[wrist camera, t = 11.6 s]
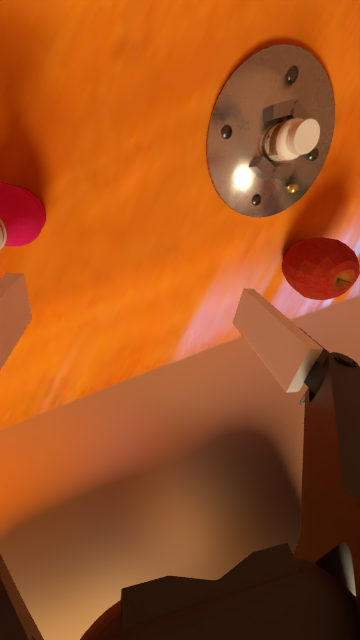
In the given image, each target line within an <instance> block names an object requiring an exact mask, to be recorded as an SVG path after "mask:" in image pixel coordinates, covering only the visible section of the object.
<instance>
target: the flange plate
mask: <svg viewBox="0 0 360 640" xmlns="http://www.w3.org/2000/svg"><path fill="white" fill-rule="evenodd" d="M293 118H301V119H303V120H305V119H309V118H312V119H315V120H316V121H317V122H318V124H319V126H320V136H319V140H318V142H317V144H316V146H315V147H314V148H313V150H312V151H310V152H309V153H307V154H303V155H300V156H299V157H297V158H295V159H293V160H285V161H275V162H269V161H268V160H267V159H266V158H265V157H264V156H261V153H260V141H261V138H262V135H263V133H264V132H265V131H266V130H267V129H268V128H269V127H270V126H272V125H275V124H278V123H281V122H284V121H287V120H290V119H293ZM334 121H335V104H334V96H333V91H332V87H331V83H330V81H329V78H328V76H327V73H326V72H325V70H324V68H323V66H322V65H321V63H320V62H319V61H318V60H317V59H316V57H314V56H313V55H312V54H311V53H310V52H309V51H307V50H305V49H303V48H301V47H298V46H295V45H289V44H280V45H273V46H270V47H267V48H264V49H262V50H260V51H259V52H257V53H255V54H253V55H252V56H251V57H249V58H248V59H247V60H246V61H244V62H243V63H242V64H241V65H240V66H239V67H238V68H237V69H236V70H235V71H234V73H233V74H232V75H231V76H230V78H229V79H228V80H227V82H226V83H225V85H224V87H223V88H222V90H221V92H220V94H219V96H218V98H217V100H216V103H215V105H214V108H213V111H212V114H211V117H210V122H209V126H208V132H207V141H206V155H207V164H208V170H209V174H210V177H211V180H212V183H213V185H214V187H215V190H216V191H217V193H218V195H219V196H220V198H221V199H222V200H223V201H224V202H225V203H226V204H227V205H228V206H229V207H230V208H231V209H233V210H235V211H236V212H238V213H241V214H243V215H246V216H251V217H267V216H271V215H274V214H277V213H280V212H281V211H283V210H285V209H287V208H288V207H290V206H291V205H293V204H294V203H295V202H296V201H298V200H299V199H300V198H301V197H302V196H303V195H304V194H305V193H306V191H307V190H308V189H309V188H310V186H311V185H312V184H313V182H314V181H315V179H316V178H317V176H318V174H319V172H320V171H321V169H322V167H323V164H324V162H325V160H326V157H327V154H328V151H329V149H330V145H331V141H332V136H333V130H334Z"/></svg>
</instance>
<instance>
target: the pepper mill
mask: <svg viewBox="0 0 360 640" xmlns="http://www.w3.org/2000/svg"><path fill="white" fill-rule="evenodd" d="M45 221H46V215H45V210H44V207H43V205H42V204H41V202H40V201H39V199H38V198H37V197H36V196H35V195H34V194H33V193H31V192H30V191H28V190H26V189H24V188H21V187H18V186H13V185H10V184H7V183H1V182H0V249H2V248H3V246H4V245H5V246H22V245H26V244H28V243H30V242H32V241H33V240H35V239H36V238H37V237H38V235H39V234H40V231H41V229H42V228H43V226H44V224H45Z"/></svg>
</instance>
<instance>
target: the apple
mask: <svg viewBox="0 0 360 640" xmlns="http://www.w3.org/2000/svg"><path fill="white" fill-rule="evenodd" d="M282 272H283V274H284V276H285V278H286V280H287V282H288V283H289V284H290V285H291V286H292V287H293V288H294V289H295V290H296V291H297V292H299V293H300V294H301V295H302V296H304V297H307V298H310V299H315V300H327V299H332V298H335V297H338V296H340V295H342V294H344V293H345V292H346V291H347V290H348V289H349V288H350V287H351V286H352V285H353V284H354V282H355V281H356V280H357V278H358V276H359V274H360V271H359V263H358V258H357V256H356V254H355V252H354V251H353V250H352V249H350V248H349V247H348V246H347V245H346V244H344V243H343V242H341V241H339V240H335V239H329V238H311V239H305V240H299V241H298V242H296V243H295V244H293V245H292V246H291V248H290V249H289V250H288V251H287V253H286V255H285V256H284V258H283V262H282Z"/></svg>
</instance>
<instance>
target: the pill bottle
mask: <svg viewBox="0 0 360 640" xmlns="http://www.w3.org/2000/svg"><path fill="white" fill-rule="evenodd" d="M319 136H320V126H319V124H318V122H317V121H316V120H315V119H312V118H309V119H305V120H303V119H301V118H293V119H290V120H287V121H284V122H281V123H278V124H275V125H272V126H270V127H269V128H268V129H267V130H266V131H265V132H264V133H263V135H262V138H261V141H260V153H261V156H264V157H265V158H266V159H267V160H268V161H269V162H275V161H285V160H293V159H295V158H297V157H299V156H300V155H303V154H307V153H309V152H310V151H312V150H313V148H314V147H315V146H316V144H317V142H318V140H319Z"/></svg>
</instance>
